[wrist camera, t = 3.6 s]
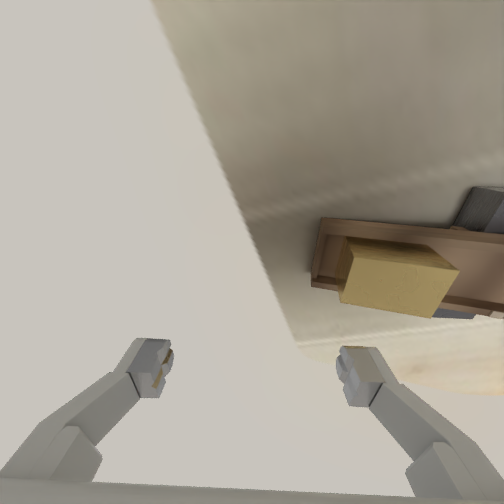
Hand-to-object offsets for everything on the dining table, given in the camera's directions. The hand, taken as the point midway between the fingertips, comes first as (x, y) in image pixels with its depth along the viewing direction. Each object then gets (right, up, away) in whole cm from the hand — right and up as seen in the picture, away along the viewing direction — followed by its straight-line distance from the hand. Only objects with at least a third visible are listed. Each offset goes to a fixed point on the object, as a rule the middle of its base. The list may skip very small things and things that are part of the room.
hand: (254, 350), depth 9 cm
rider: (+11, +4, +7) cm, 14 cm away
